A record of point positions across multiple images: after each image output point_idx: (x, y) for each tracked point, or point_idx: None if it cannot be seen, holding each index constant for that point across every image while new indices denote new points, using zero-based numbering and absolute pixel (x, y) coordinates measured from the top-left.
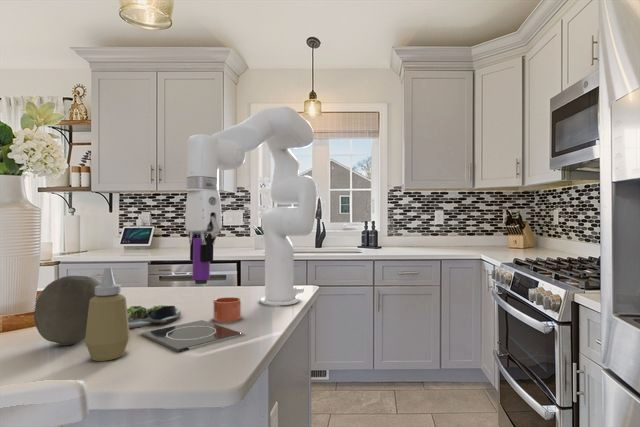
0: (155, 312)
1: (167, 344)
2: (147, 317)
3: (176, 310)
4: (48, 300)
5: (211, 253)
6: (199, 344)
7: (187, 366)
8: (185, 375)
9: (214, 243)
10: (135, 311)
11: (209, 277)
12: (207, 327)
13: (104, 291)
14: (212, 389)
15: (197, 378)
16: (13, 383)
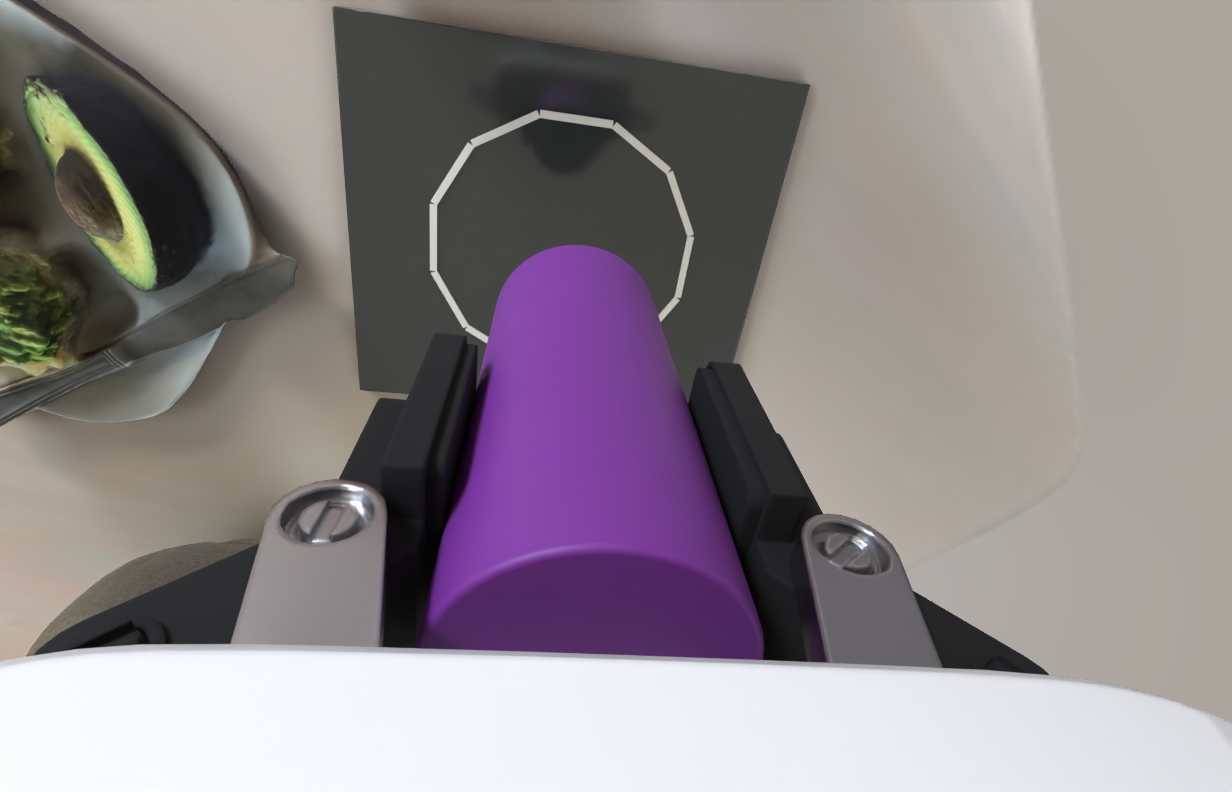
0: (171, 283)
1: None
2: (78, 256)
3: None
4: None
5: (791, 462)
6: (739, 335)
7: (850, 463)
8: (894, 499)
9: (881, 534)
10: (47, 341)
11: (638, 276)
12: (542, 126)
13: None
14: (1024, 506)
15: (942, 492)
16: None
